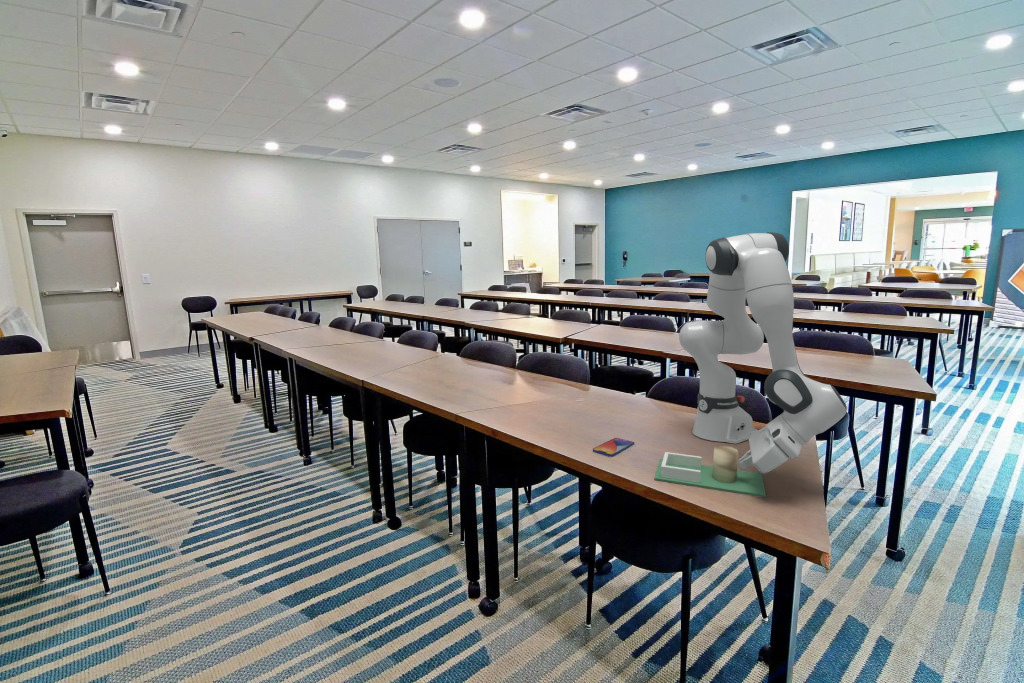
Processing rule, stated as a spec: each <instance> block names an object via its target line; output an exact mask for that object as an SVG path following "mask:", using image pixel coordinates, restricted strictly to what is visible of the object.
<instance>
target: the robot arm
mask: <svg viewBox="0 0 1024 683" xmlns="http://www.w3.org/2000/svg"><path fill="white" fill-rule="evenodd" d="M789 254H790V245H789V241H788V239H787V238H786V237H785V236H784V235H783V234H782V233H778V232H772V231H770V232H769V231H768V232H764V233H763V232H759V233H758V232H753V233H744V234H740V235H733V236H730V237H719V238H717V239H713V240H712V241H710V242H709V244H708V246H706V249H705V254H704V255H705V264H706V267H707V269H708V270H709V272H710V273H709V279H708V280H709V281H708V288H707V295H706V296H707V297H706V304H707V307H708V309H709V310H710V311H712V312H713V313H714V314H716V315H718V316H721V317H722V318H724V319H723V320H695V321H688V322H686V323H685V324H684V325H683V326H682V327H681V328H680V330H679V333H678V334H679V335H678V340H679V343H680V345H681V347H682V348H683V350H684V351H685V352H687V353H688V354H689V355H690V356H691V357H692V358H693V359H694V362H695V363H696V364H697V367H698V371H699V392H697V409H696V416H695V421H694V423H693V428H692V430H691V431H692V434H693V435H694V436H696V437H697V438H700V439H703V440H707V441H712V442H720V443H721V442H724V443H729V444H734V445H735V444H736V445H737V444H739V443H742V442H745V441H747V440H748V445H749V450H748V451H746V452H745V454H744V455H743V456H742V457H740V458H738V467H739V468H740V470H741V469H742V470H744V469H746V468H748V467H750V466H754V467H755V468H756V469H757V470H758V471H759V473H762V475H763V474H767V473H769V472H771V471H774V470H776V468H778V467H780V466H781V465H783V464H785V463H786V462H787V461H788V460H789V459H791V460H794V459H796V458H797V457H799V456H800V454H801V451H802V450H801V449H802V448H803V447H804V446H805V445H806V444H807V443H809V442H810V441H811V440H812V439H813V438H814V437H815V436H817V435H818V434H822V433H824V432H826V431H827V430H829V429H830V428H831V427H833V426H834V425H835V424H837V423H838V422H839V421H840V420H841V419H843V418H844V416H846V414H847V410H848V408H847V403H846V401H845V400H844V398H843V397H842V395H841V394H840V393H839V392H838V390H837V389H836V388H835V387H834V386H833V385H831V384H827V383H822V382H820V381H817V380H814V379H812V378H810V377H808V376H807V375H805V373H804V372H803V370H802V369H801V367H800V365H799V362H798V356H797V352H796V345H795V341H794V337H793V336H794V335H793V326H794V324H793V323H794V310H795V300H794V289H793V288H794V287H793V284H792V279H791V275H790V271H789V268H788V265H787V262H786V261H787V260H788V258H789ZM746 301H747V304H748V305H747V306H748V308H749V311H750V314H751V315H752V318H753V320H754V321H755V322H754V321H753V320H752V319H751V317H750V316H749V314H748V312H747V308H746ZM764 339H766V343H767V347H768V351H769V357H770V362H771V368H772V371H771V373H770V374H769V375H767V377H766V379H765V381H764V386H763V390H764V393H765V395H766V397H767V398H768V399H769V402H771V403H773V404H774V405H776V406H778V407H779V408H781V409H782V410H783V412H782V413H781V414H780V415H778V416H776V417H775V418H774V419H772V420H771V421H770V422H768V423H766V425H765V426H763V427H762V428H760V429H759V430H758V429H756V428H755V427H754V423H753V422H754V421H753V418H752V416H751V414H749V413H748V412H746V411H745V410H744V409H743V408H742V407H740V406H739V402H740V403H744V402H745V401H746V400H745V396H742V395H739V394H738V395H736V386H737V385H736V384H737V375H736V371H735V370H734V369H733V368H732V367H731V366H728V365H727V364H725V363H723V362H721V361H719V359H718V356H719V355H738V356H741V355H748V354H754V353H755V354H756V353H757V352H758V351H759V350H761V347H762V346H763V344H764Z"/></svg>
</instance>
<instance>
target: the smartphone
mask: <svg viewBox="0 0 1024 683" xmlns="http://www.w3.org/2000/svg"><path fill="white" fill-rule="evenodd" d="M633 446H635V441H632V440H628V439H623V438H620V437H614V438H612V439H610V440H608V441H605V442H604V443H602V444H600V445H597V446H595V447H594V448H592V452H593V453H595V454H599V455H602V456H606V457H610V458H612V457H613V458H614V457H616V456H617V455H619V454H620V453H622V452H624V451H626V450H627V449H629V448H630V447H633Z"/></svg>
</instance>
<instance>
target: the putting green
mask: <svg viewBox="0 0 1024 683" xmlns="http://www.w3.org/2000/svg"><path fill="white" fill-rule="evenodd" d="M702 460H703V458H702V456H698V455H691V454H683V453H677V452H670V451H669V452H668V451H665V452H664V455H663V459H662V458H660V459H659V461H658V465H657V468H656V472H655V475H654V478H653V480H654V481H656V482H657V481H658V482H664V483H670V484H676V485H683V486H690V487H695V488H696V487H697V488H702V489H710V490H715V491H722V492H728V493H735V494H740V495H746V496H747V495H748V496H753V497H759V498H761V497H762V498H766V497H767V495H766V489H765V485H764V481H763V480H764V479H763V474H762V473H761V472H758V471H757V472H756V471H748V470H743V469H742V470H741V469H737V479H736V482H733V483H724V482H719V481H717V480H715V479H714V478H713V477H712V473H713V465H706V464H705V465H704V464H702V462H703V461H702Z"/></svg>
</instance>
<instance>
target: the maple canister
mask: <svg viewBox="0 0 1024 683" xmlns="http://www.w3.org/2000/svg"><path fill="white" fill-rule="evenodd" d="M712 458H713V459H712V460H713V461H712V466H713V473H712V477H713V478H714V479H715V480H717V481H719V482H724V483H733V482H736V479H737V470H738V465H739V463H738V460H739V450H738V449H737V448H735V447H732V446H727V445H716V446H715V447H713V457H712Z"/></svg>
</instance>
